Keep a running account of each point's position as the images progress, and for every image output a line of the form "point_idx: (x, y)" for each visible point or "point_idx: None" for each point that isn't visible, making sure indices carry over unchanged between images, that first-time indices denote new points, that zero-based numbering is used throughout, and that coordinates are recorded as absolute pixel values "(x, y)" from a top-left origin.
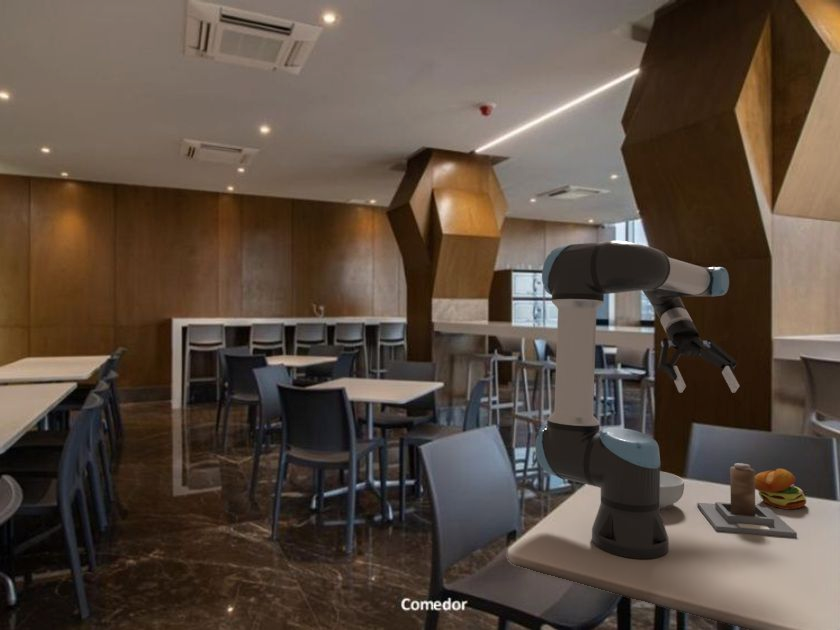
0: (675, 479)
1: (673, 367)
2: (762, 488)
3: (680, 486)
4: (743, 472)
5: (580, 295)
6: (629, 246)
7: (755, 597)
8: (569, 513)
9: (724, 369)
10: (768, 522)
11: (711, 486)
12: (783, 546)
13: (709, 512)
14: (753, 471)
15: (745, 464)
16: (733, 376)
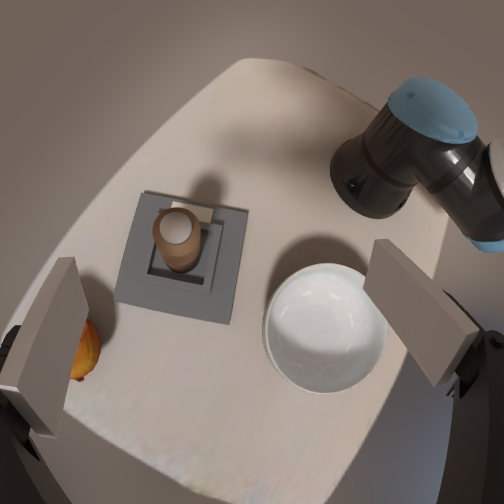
0: (270, 344)
1: (471, 339)
2: (96, 332)
3: (285, 279)
4: (186, 209)
5: None
6: None
7: (282, 83)
8: None
9: (36, 405)
10: None
11: (148, 443)
12: (182, 168)
13: (230, 272)
14: (163, 211)
15: (166, 230)
16: (38, 302)
